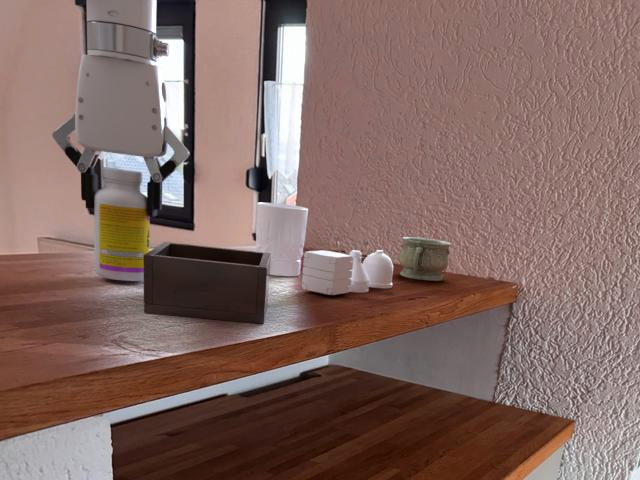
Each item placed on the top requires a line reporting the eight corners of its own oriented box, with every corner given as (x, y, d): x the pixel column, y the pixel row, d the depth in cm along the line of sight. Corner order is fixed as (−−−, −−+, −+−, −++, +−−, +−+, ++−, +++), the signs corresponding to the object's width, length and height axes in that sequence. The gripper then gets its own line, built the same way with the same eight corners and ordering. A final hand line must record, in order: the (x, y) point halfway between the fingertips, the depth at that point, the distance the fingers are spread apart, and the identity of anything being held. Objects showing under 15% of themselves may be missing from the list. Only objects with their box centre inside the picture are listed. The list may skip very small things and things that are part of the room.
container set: (332, 298, 99) (336, 257, 97) (300, 291, 101) (303, 250, 99) (397, 286, 116) (402, 251, 113) (369, 281, 118) (373, 245, 116)
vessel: (438, 284, 123) (443, 245, 121) (388, 276, 125) (393, 238, 123) (452, 277, 134) (457, 241, 131) (406, 270, 136) (410, 234, 133)
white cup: (243, 271, 113) (246, 202, 109) (267, 267, 119) (271, 202, 115) (289, 279, 110) (294, 209, 106) (311, 274, 117) (316, 208, 113)
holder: (143, 312, 78) (143, 254, 76) (163, 292, 90) (164, 241, 88) (263, 324, 80) (267, 267, 77) (268, 302, 91) (271, 253, 89)
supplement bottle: (156, 283, 93) (158, 175, 88) (103, 281, 89) (103, 168, 85) (138, 273, 98) (140, 170, 93) (88, 271, 94) (86, 164, 89)
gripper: (202, 63, 88) (196, 218, 95) (53, 41, 86) (58, 201, 93) (194, 55, 81) (188, 223, 88) (32, 30, 79) (39, 204, 86)
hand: (122, 210), depth 91 cm, fingers closed on supplement bottle, 6 cm apart
